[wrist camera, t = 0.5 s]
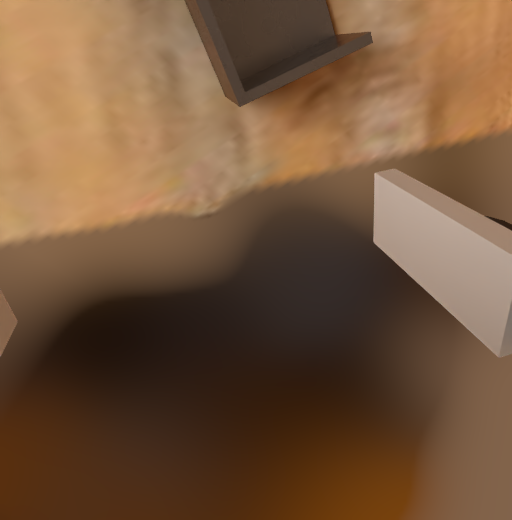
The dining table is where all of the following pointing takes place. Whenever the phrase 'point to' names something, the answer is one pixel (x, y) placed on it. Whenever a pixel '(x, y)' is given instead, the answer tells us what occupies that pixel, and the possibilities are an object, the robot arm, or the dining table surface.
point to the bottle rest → (268, 42)
